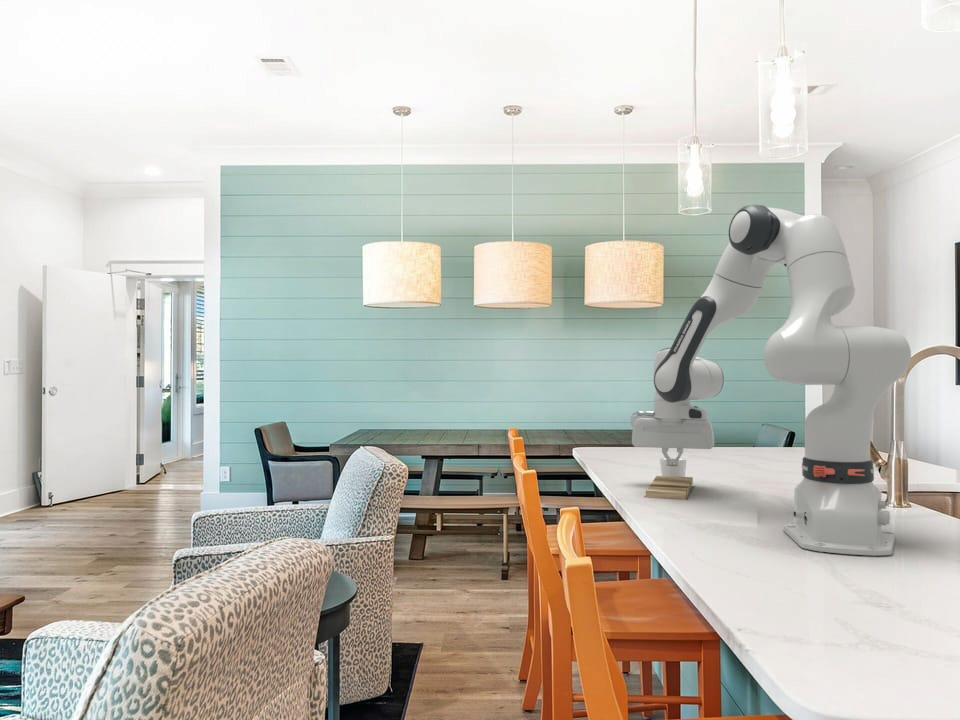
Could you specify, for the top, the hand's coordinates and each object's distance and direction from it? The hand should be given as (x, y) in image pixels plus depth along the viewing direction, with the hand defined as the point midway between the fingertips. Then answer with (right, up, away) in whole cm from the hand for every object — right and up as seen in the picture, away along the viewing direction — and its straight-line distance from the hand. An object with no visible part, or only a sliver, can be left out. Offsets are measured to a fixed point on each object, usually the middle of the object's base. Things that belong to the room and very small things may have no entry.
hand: (672, 465), depth 184 cm
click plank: (-1, -5, -3) cm, 6 cm away
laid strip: (-5, -6, -12) cm, 15 cm away
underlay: (-2, -6, -6) cm, 9 cm away
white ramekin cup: (+3, -7, +9) cm, 11 cm away
